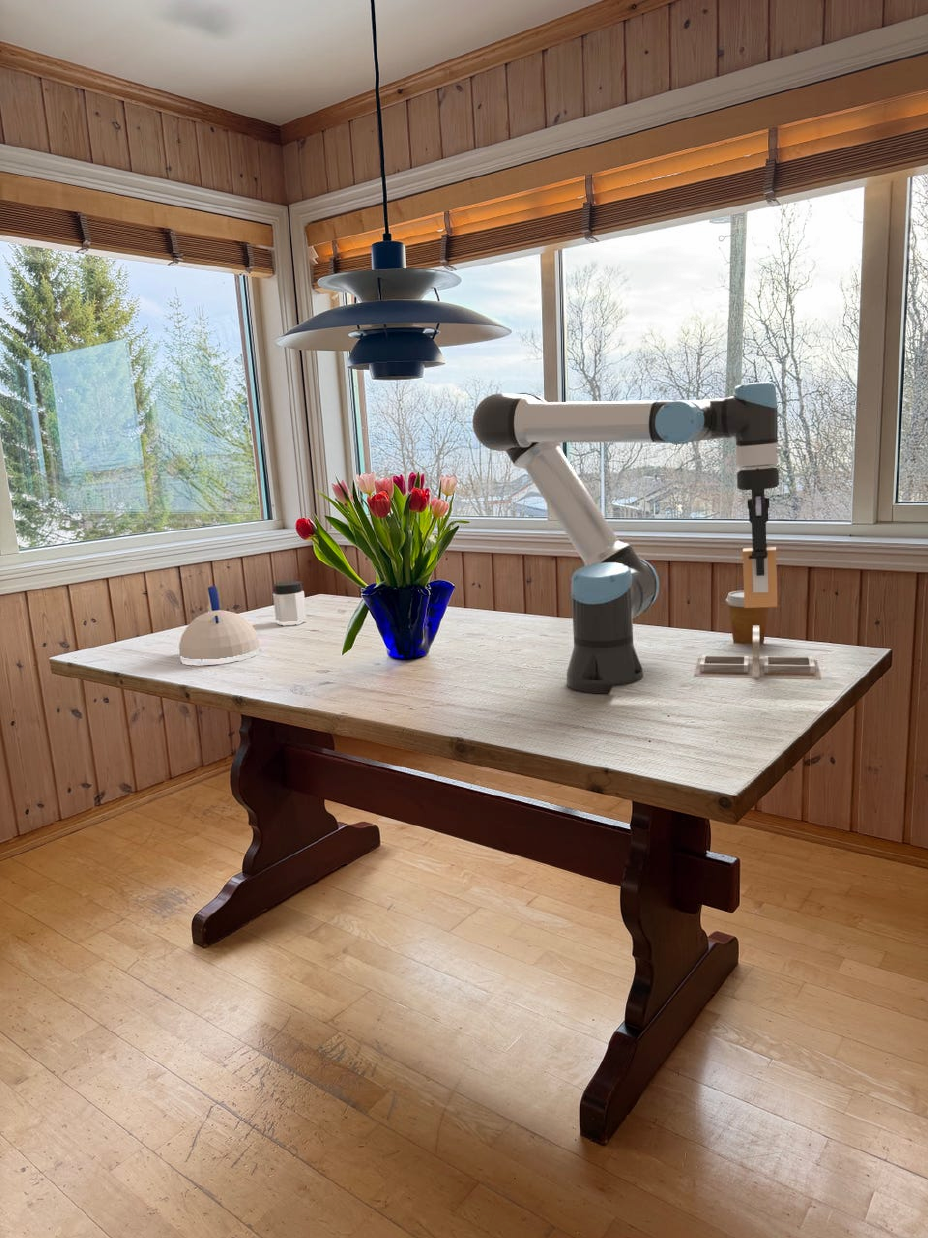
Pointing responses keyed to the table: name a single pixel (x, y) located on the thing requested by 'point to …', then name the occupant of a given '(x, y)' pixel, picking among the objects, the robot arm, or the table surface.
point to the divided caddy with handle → (757, 665)
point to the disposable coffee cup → (745, 619)
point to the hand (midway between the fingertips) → (760, 589)
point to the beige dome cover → (217, 633)
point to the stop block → (749, 597)
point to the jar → (289, 601)
